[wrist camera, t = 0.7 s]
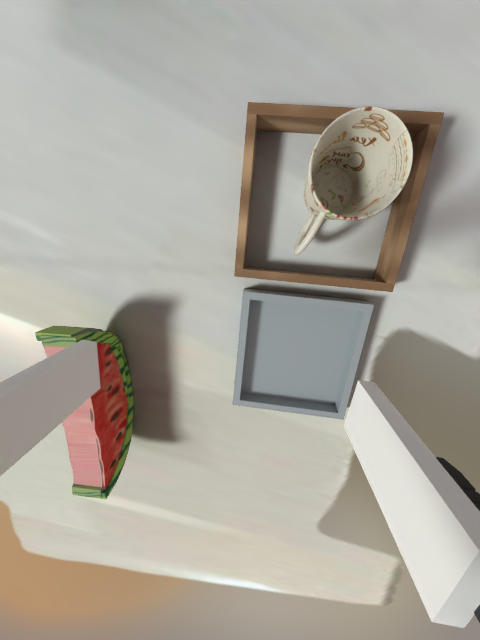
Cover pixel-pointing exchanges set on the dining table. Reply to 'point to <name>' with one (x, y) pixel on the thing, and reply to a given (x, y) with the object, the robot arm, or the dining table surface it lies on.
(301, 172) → the dining table surface
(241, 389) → the tray
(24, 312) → the dining table surface
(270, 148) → the dining table surface
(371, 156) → the mug
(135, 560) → the dining table surface
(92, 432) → the fruit slice
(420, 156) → the corral
